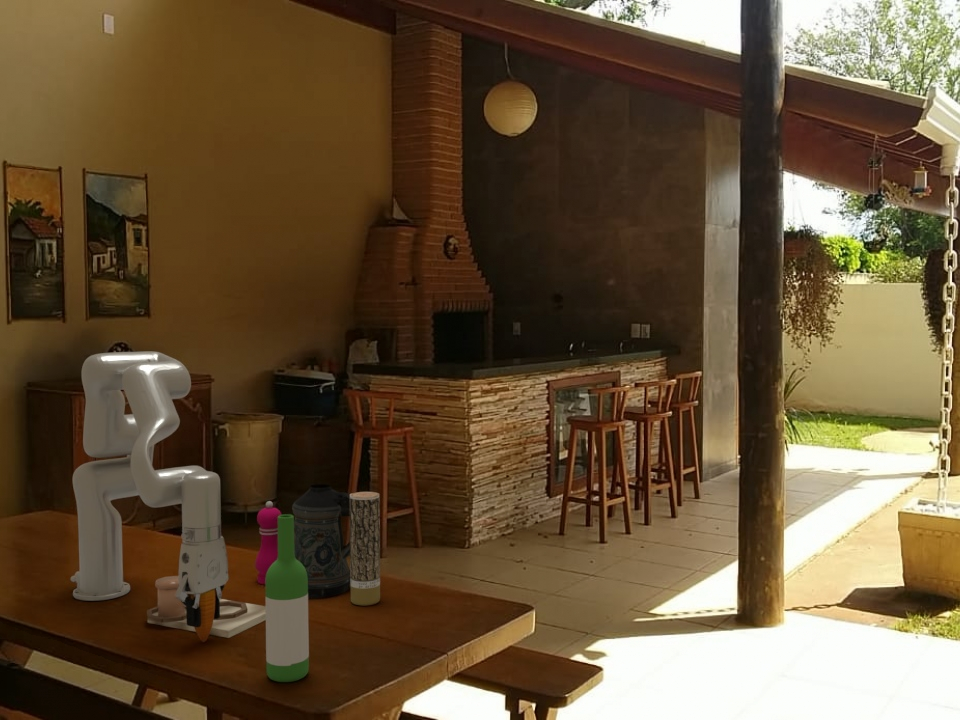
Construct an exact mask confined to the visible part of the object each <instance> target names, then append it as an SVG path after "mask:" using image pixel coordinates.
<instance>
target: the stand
mask: <svg viewBox="0 0 960 720" xmlns="http://www.w3.org/2000/svg"><path fill="white" fill-rule="evenodd" d="M146 618H147V623H148V624H153V625H158V626H164V627H168V628H174V629H179V630H184V631H190V632H195V633H196V630H195V628H194V627H193V626H188V625H187V616H186V607H185V614H183V615H181V616H172V617H160V616H158V605H157V606H154V607H152V608H150V609H147V610H146ZM264 621H265V622H266V605H260V604H254V603H248V602H242V601H237V600H236V601H235V600H229V599H225V598H220V618H218V619H215V618H214V620H213V625H212V628H211V631H210V634H209V636H210V635H211V636H216V637H222V638H227V639H229V638H232V637H233V636H236V635H238V634H240V633H243V632H244V631H247V630H249V629H250V628H252V627H255V626H256V625H259V624H261V623H262V622H264Z"/></svg>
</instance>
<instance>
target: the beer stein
mask: <svg viewBox="0 0 960 720" xmlns="http://www.w3.org/2000/svg"><path fill="white" fill-rule="evenodd" d="M291 509H292V513H293V514H292V515H293V516H294V553H295V558H296V559H297V560H298V561H299V562H301V563H302V565H303V566H304V567H305V569H306V572H307V577H308V599H325V598H326V599H327V598H332V597H335V596H340V595H344V593H346V592H347V591H349V589H350V588H351V586H350V565H349V564H348V560H347V557H350V541H349V542H348V543H347V544H346V545H345V542H344V533H343V525H342V521H341V519H342V517H350V494H349V493H348V492H342V491H337V490H335V489H334V487H332V486H331V484H330V485H329V484H311V485H310V487H309V488H308V490H306V492H304V493H303V494H302V495H301V496H300V497H299V498H297V499H296V500H294V502H293V504H292V506H291Z"/></svg>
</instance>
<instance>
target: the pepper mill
mask: <svg viewBox="0 0 960 720" xmlns="http://www.w3.org/2000/svg"><path fill="white" fill-rule="evenodd" d="M273 505H274V504H273V502H272V501H270V500H269V501H266V502H265V507H264V508H261V509H260V510H259V511H258V513H257V517H256V521H257V524H258V525H259V526H260V527H258V530H259V534H260V535H261V539H260V540H261V543H260V548H259V551H258V552H257V555H256V558H255V563H254V567H255V569H256V570H257V571H258V574H257V583H258V584H261V585H264V586H265V579H266V574H267V571H268V569H269V567H270V566H271V565H272V564H273V563H274V562H275V561H276V560H277V558H278V516H279V515H282V512H281V510H279V509H278V508H277V507H273Z"/></svg>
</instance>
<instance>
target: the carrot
mask: <svg viewBox="0 0 960 720" xmlns="http://www.w3.org/2000/svg"><path fill="white" fill-rule="evenodd" d="M191 598H192V599H193V598H194V595H192V594H191ZM198 607H200V608H201V626H200V627H194V628H195V630H196V632H195V633H196V635H197V637H198V638H199V640H200V641H201V642H202V643H206V641H207V640H208V638H209V636H210V631H211V628H212V625H213V620H214V614H215V589H212V590H210V591H207V592H205V593H202V594H200V599H199V605H198Z"/></svg>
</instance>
